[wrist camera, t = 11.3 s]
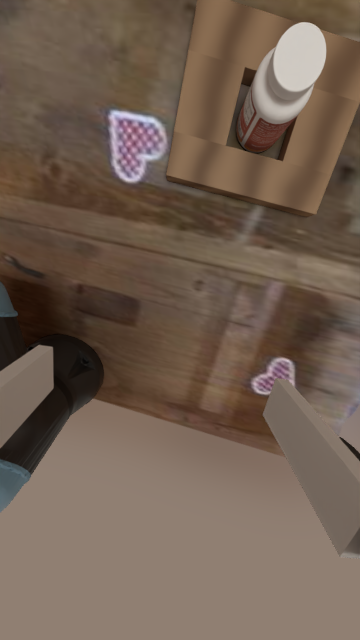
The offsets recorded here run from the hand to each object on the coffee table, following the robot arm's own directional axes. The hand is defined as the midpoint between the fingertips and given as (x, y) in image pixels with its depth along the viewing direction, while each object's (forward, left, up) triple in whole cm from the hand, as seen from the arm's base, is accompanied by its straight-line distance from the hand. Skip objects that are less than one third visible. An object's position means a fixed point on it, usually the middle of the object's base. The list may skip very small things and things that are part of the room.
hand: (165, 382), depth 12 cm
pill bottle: (+6, +26, -26) cm, 37 cm away
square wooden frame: (+6, +26, -25) cm, 37 cm away
